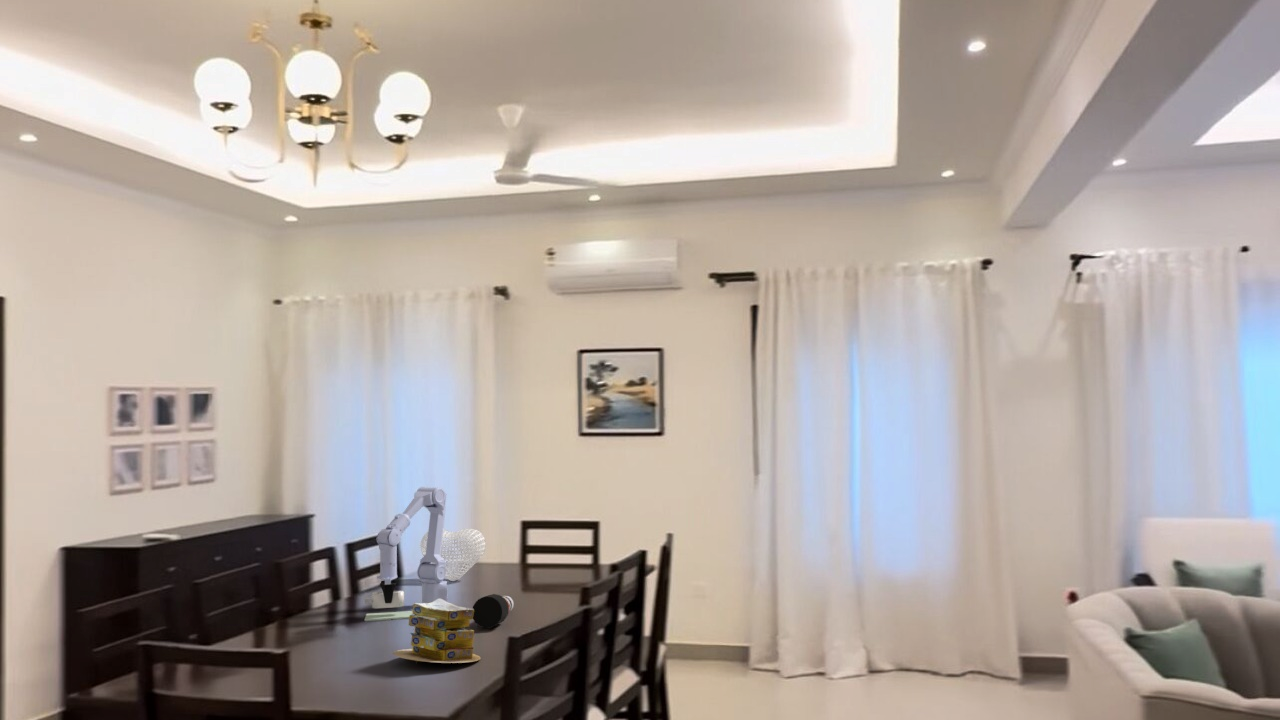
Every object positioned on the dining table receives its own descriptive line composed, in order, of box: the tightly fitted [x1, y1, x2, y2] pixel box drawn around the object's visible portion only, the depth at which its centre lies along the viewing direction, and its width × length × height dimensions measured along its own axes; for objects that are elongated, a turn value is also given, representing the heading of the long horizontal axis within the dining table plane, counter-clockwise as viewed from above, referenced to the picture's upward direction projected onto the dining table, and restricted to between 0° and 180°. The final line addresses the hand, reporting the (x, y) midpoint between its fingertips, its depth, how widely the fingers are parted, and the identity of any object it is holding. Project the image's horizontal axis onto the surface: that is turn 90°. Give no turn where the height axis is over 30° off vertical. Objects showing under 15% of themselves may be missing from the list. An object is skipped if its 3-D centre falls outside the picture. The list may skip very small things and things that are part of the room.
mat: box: [364, 610, 413, 622], centre depth 343 cm, size 16×10×1 cm, turn 102°
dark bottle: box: [472, 593, 515, 629], centre depth 336 cm, size 10×34×10 cm, turn 173°
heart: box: [420, 528, 487, 582], centre depth 416 cm, size 28×16×22 cm, turn 84°
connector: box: [364, 590, 405, 609], centre depth 343 cm, size 13×4×5 cm, turn 102°
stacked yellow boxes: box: [392, 599, 481, 665], centre depth 280 cm, size 25×25×17 cm
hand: (388, 601), depth 344 cm, fingers closed on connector, 4 cm apart
